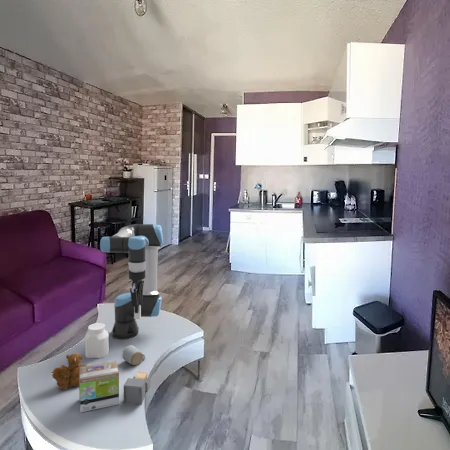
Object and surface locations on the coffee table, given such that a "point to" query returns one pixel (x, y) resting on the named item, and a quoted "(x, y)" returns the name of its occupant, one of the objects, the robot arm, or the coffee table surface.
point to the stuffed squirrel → (68, 372)
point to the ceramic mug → (132, 355)
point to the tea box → (98, 386)
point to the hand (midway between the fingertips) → (137, 318)
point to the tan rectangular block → (141, 375)
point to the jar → (96, 341)
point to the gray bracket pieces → (135, 390)
